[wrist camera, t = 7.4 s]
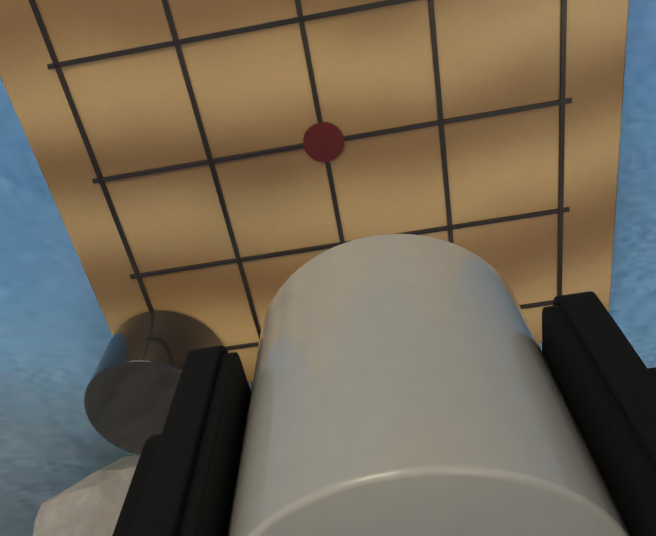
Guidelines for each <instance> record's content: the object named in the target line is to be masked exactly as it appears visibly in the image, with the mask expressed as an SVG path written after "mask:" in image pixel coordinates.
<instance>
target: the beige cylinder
mask: <svg viewBox="0 0 656 536" xmlns="http://www.w3.org/2000/svg"><path fill="white" fill-rule="evenodd" d="M227 536H630V534H629V532H628V530H627V528H626V526H625V524H624V522H623V520H622V518H621V516H620V514H619V511H618V509H617V507H616V505H615V503H614V501H613V499H612V497H611V495H610V493H609V491H608V489H607V486H606V484H605V482H604V480H603V478H602V476H601V474H600V472H599V470H598V468H597V466H596V464H595V461H594V459H593V457H592V455H591V453H590V451H589V449H588V447H587V445H586V443H585V441H584V439H583V436H582V434H581V432H580V430H579V428H578V426H577V424H576V422H575V420H574V418H573V416H572V413H571V411H570V409H569V407H568V405H567V403H566V401H565V399H564V397H563V395H562V393H561V391H560V388H559V386H558V384H557V382H556V380H555V378H554V376H553V374H552V372H551V370H550V368H549V366H548V363H547V361H546V359H545V357H544V355H543V353H542V351H541V349H540V347H539V345H538V343H537V341H536V338H535V336H534V334H533V332H532V330H531V328H530V326H529V324H528V322H527V320H526V318H525V316H524V313H523V311H522V309H521V307H520V305H519V303H518V301H517V299H516V297H515V295H514V293H513V291H512V289H511V288H510V286H509V285H508V284H507V282H506V281H505V279H504V278H503V277H502V276H501V275H500V274H499V273H498V272H497V271H496V270H495V269H494V268H493V267H492V266H491V265H490V264H488V263H487V262H486V261H484V260H483V259H482V258H481V257H479V256H477V255H476V254H474V253H472V252H470V251H469V250H467V249H465V248H463V247H460V246H458V245H455V244H453V243H450V242H448V241H444V240H440V239H437V238H433V237H429V236H422V235H414V234H383V235H373V236H368V237H364V238H359V239H355V240H352V241H349V242H346V243H343V244H340V245H337V246H335V247H333V248H331V249H329V250H327V251H325V252H323V253H321V254H319V255H318V256H316V257H314V258H313V259H311V260H310V261H308V262H307V263H305V264H304V265H303V266H302V267H300V268H299V269H298V270H297V271H296V272H295V273H293V274H292V275H291V276H290V277H289V279H288V280H287V281H286V282H285V283H284V284H283V285H282V286H281V288H280V289H279V291H278V292H277V294H276V295H275V297H274V298H273V300H272V301H271V304H270V306H269V308H268V310H267V312H266V314H265V318H264V321H263V325H262V328H261V334H260V340H259V347H258V353H257V359H256V365H255V371H254V377H253V383H252V389H251V395H250V401H249V407H248V413H247V419H246V425H245V431H244V437H243V443H242V449H241V455H240V461H239V467H238V474H237V480H236V486H235V492H234V498H233V504H232V510H231V516H230V522H229V528H228V534H227Z"/></svg>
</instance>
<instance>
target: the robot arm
mask: <svg viewBox="0 0 656 536" xmlns="http://www.w3.org/2000/svg"><path fill="white" fill-rule="evenodd" d="M542 353H543V355H544V357H545V359H546V361H547V363H548V366H549V368H550V370H551V372H552V374H553V376H554V378H555V380H556V382H557V384H558V386H559V388H560V391H561V393H562V395H563V397H564V399H565V401H566V403H567V405H568V407H569V409H570V411H571V413H572V416H573V418H574V420H575V422H576V424H577V426H578V428H579V430H580V432H581V434H582V436H583V439H584V441H585V443H586V445H587V447H588V449H589V451H590V453H591V455H592V457H593V459H594V461H595V464H596V466H597V468H598V470H599V472H600V474H601V476H602V478H603V480H604V482H605V484H606V486H607V489H608V491H609V493H610V495H611V497H612V499H613V501H614V503H615V505H616V507H617V509H618V511H619V514H620V516H621V518H622V520H623V522H624V524H625V526H626V528H627V530H628V532H629V534H630V536H656V368H648V369H647V367H646V366H645V364H644V363H643V361H642V360H641V359H640V357H639V356H638V354H637V353H636V351H635V350H634V348H633V347H632V346H631V344H630V343H629V341H628V340H627V338H626V337H625V336H624V334H623V333H622V331H621V330H620V328H619V327H618V325H617V324H616V323H615V321H614V320H613V318H612V317H611V315H610V314H609V312H608V311H607V310H606V308H605V307H604V305H603V304H602V302H601V301H600V299H599V298H598V297H597V295H596V294H595V293H594V292H592V291H588V292H581V293H574V294H567V295H560V296H556V297H555V298H554V300H553V306H548V307H544V308H543V310H542ZM250 395H251V390H250V387H249V384H248V381H247V378H246V375H245V372H244V368H243V365H242V362H241V359H240V357H239V354H238V353H237V352H232V353H228V351H227V349H226V348H225V346H223V345H220V346H213V347H206V348H199V349H193V350H190V351H189V352H188V354H187V357H186V360H185V363H184V366H183V369H182V372H181V375H180V378H179V381H178V384H177V388H176V391H175V394H174V397H173V400H172V403H171V406H170V409H169V412H168V415H167V419H166V422H165V425H164V428H163V431H162V434H157V435H151V436H150V437H149V438H148V439H147V440H146V442H145V444H144V446H143V449H142V452H141V455H140V457H139V460H138V463H137V466H136V469H135V472H134V475H133V478H132V480H131V483H130V486H129V489H128V492H127V495H126V498H125V501H124V503H123V506H122V509H121V512H120V515H119V518H118V521H117V523H116V526H115V529H114V532H113V535H112V536H227V534H228V528H229V522H230V516H231V510H232V504H233V498H234V492H235V486H236V480H237V474H238V467H239V461H240V455H241V449H242V443H243V437H244V431H245V425H246V419H247V413H248V407H249V401H250Z"/></svg>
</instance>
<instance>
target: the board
mask: <svg viewBox="0 0 656 536" xmlns="http://www.w3.org/2000/svg"><path fill="white" fill-rule="evenodd" d="M628 7H629V0H0V77H1V79H2V81H3V84H4V86H5V88H6V91H7V93H8V95H9V98H10V100H11V102H12V104H13V107H14V109H15V111H16V114H17V116H18V118H19V121H20V123H21V125H22V128H23V130H24V132H25V134H26V137H27V139H28V141H29V144H30V146H31V148H32V151H33V153H34V155H35V157H36V160H37V162H38V164H39V167H40V169H41V171H42V174H43V176H44V178H45V181H46V183H47V185H48V187H49V190H50V192H51V194H52V197H53V199H54V201H55V204H56V206H57V208H58V210H59V213H60V215H61V217H62V220H63V222H64V224H65V227H66V229H67V231H68V234H69V236H70V238H71V240H72V243H73V245H74V247H75V250H76V252H77V254H78V257H79V259H80V261H81V263H82V266H83V268H84V270H85V273H86V275H87V277H88V280H89V282H90V284H91V287H92V289H93V291H94V293H95V296H96V298H97V300H98V303H99V305H100V307H101V310H102V312H103V314H104V316H105V319H106V321H107V323H108V326H109V328H110V330H111V333H112V335H114V333H115V331H116V330H117V329H118V328H119V326H120V325H121V324H123V323H124V322H125V321H126V320H128V319H129V318H131V317H133V316H135V315H138V314H141V313H144V312H149V311H158V310H159V311H173V312H178V313H182V314H185V315H188V316H190V317H192V318H194V319H197V320H198V321H200V322H201V323H203V324H204V325H206V326H207V327H208V328H209V329H210V330H211V331H212V332H213V333H214V334H215V335H216V336H217V337H218V339H219V341H220V342H221V344H222V345H223V346H225V348H226V349H227V351H228V353H232V352H237V353H238V354H239V357H240V359H241V362H242V365H243V368H244V372H245V375H246V378H247V381H248V382H253V377H254V371H255V365H256V359H257V353H258V347H259V340H260V334H261V328H262V325H263V321H264V318H265V314H266V312H267V310H268V308H269V306H270V304H271V301H272V300H273V298H274V297H275V295H276V294H277V292H278V291H279V289H280V288H281V286H282V285H283V284H284V283H285V282H286V281H287V280H288V279H289V277H290V276H291V275H292V274H293V273H295V272H296V271H297V270H298V269H299V268H300V267H302V266H303V265H304V264H305V263H307V262H308V261H310V260H311V259H313V258H314V257H316V256H318V255H319V254H321V253H323V252H325V251H327V250H329V249H331V248H333V247H335V246H337V245H340V244H343V243H346V242H349V241H352V240H355V239H359V238H364V237H368V236H373V235H383V234H414V235H422V236H429V237H433V238H437V239H440V240H444V241H448V242H450V243H453V244H455V245H458V246H460V247H463V248H465V249H467V250H469V251H470V252H472V253H474V254H476V255H477V256H479V257H481V258H482V259H483V260H484V261H486V262H487V263H488V264H490V265H491V266H492V267H493V268H494V269H495V270H496V271H497V272H498V273H499V274H500V275H501V276H502V277H503V278H504V279H505V281H506V282H507V284H508V285H509V286H510V288H511V289H512V291H513V293H514V295H515V297H516V299H517V301H518V303H519V305H520V307H521V309H522V311H523V313H524V316H525V318H526V320H527V322H528V324H529V326H530V328H531V330H532V332H533V334H534V336H535V338H536V341H537V343H542V310H543V308H544V307H548V306H553V300H554V298H555V297H556V296H560V295H567V294H574V293H581V292H588V291H592V292H594V293H595V294H596V295H597V297H598V298H599V299H600V301H601V302H602V304H603V305H604V307H605V308H606V310H607V311H608V312H609V305H610V289H611V274H612V258H613V242H614V226H615V211H616V195H617V179H618V164H619V148H620V132H621V116H622V101H623V85H624V69H625V54H626V38H627V22H628Z"/></svg>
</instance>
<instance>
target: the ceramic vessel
mask: <svg viewBox="0 0 656 536" xmlns="http://www.w3.org/2000/svg"><path fill="white" fill-rule="evenodd" d="M139 457H140V455H139V454H138V455H131V456H124V457H122V458H120V459H118V460H116V461H114V462H112V463H111V464H109V465H107V466H105V467H103V468H101V469H99V470H97V471H95V472H93V473H92V474H90V475H88V476H87V477H85V478H84V479H82V480H81V481H79V482H78V483H76V484H75V485H73V486H71V487H69V488H68V489H66V490H64V491H62V492H61V493H59V494H57V495H55V496H54V497H52V498H50V499H48V500H46V501H45V502H43V503H42V504H41V506H40V509H39V511H38V514H37V516H36V520H35V525H34V530H33V535H32V536H112V535H113V532H114V529H115V526H116V523H117V521H118V518H119V515H120V512H121V509H122V506H123V503H124V501H125V498H126V495H127V492H128V489H129V486H130V483H131V480H132V478H133V475H134V472H135V469H136V466H137V463H138V460H139Z"/></svg>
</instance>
